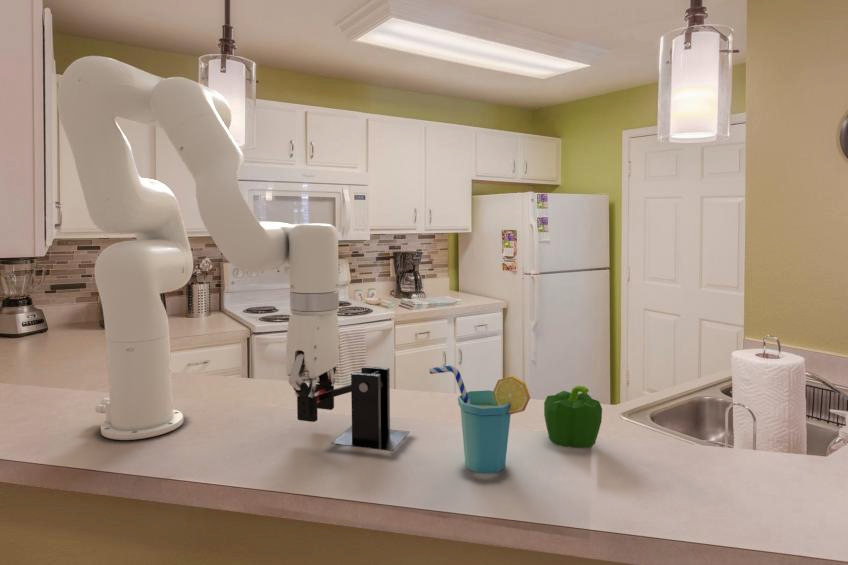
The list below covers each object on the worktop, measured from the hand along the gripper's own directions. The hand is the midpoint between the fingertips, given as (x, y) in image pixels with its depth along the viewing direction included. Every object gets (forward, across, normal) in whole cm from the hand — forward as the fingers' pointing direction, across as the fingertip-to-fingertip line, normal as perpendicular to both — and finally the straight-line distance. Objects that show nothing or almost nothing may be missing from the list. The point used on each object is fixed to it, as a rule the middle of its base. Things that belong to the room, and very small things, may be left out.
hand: (316, 413), depth 92 cm
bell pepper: (+4, -8, +40) cm, 40 cm away
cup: (+4, +5, +28) cm, 28 cm away
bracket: (+4, 0, +10) cm, 10 cm away
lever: (-3, 0, +5) cm, 6 cm away
